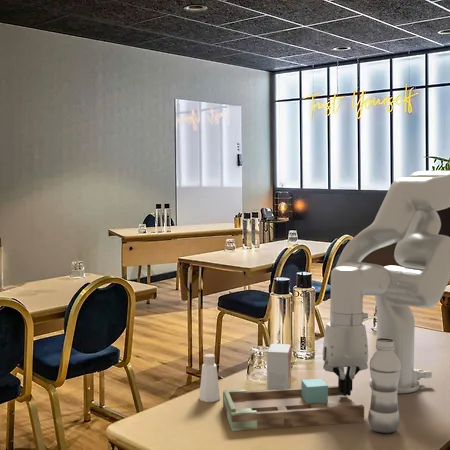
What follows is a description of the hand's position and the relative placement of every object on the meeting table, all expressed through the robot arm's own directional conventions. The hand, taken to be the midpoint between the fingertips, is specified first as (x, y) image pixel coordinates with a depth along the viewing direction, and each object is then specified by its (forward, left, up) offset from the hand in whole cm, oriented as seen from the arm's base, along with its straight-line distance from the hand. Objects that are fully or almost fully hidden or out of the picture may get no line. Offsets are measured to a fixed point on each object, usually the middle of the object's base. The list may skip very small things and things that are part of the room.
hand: (345, 393), depth 146 cm
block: (+8, 0, -1) cm, 8 cm away
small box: (+13, -15, -3) cm, 20 cm away
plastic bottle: (-3, +15, -3) cm, 16 cm away
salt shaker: (+32, -10, -3) cm, 33 cm away
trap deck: (+14, +3, -3) cm, 15 cm away
